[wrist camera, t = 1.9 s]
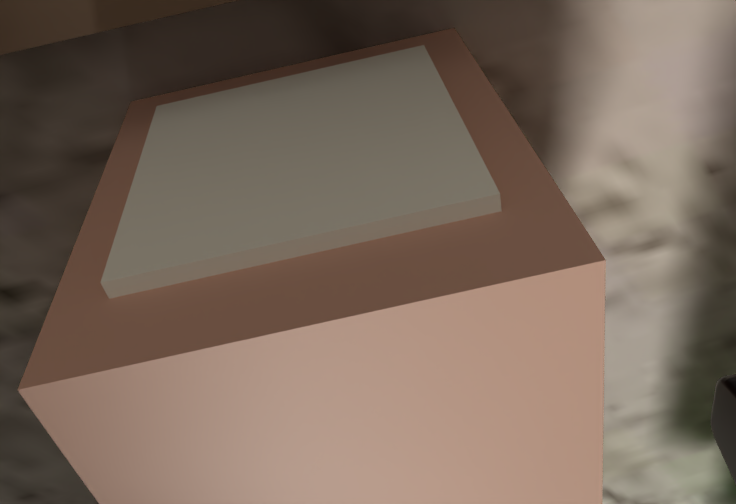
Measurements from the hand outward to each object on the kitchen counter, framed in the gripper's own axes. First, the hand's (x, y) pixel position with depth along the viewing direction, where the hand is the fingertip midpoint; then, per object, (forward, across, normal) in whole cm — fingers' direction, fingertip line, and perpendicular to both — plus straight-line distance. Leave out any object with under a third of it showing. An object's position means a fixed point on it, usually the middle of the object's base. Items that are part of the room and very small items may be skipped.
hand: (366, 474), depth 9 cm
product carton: (+5, 0, 0) cm, 5 cm away
